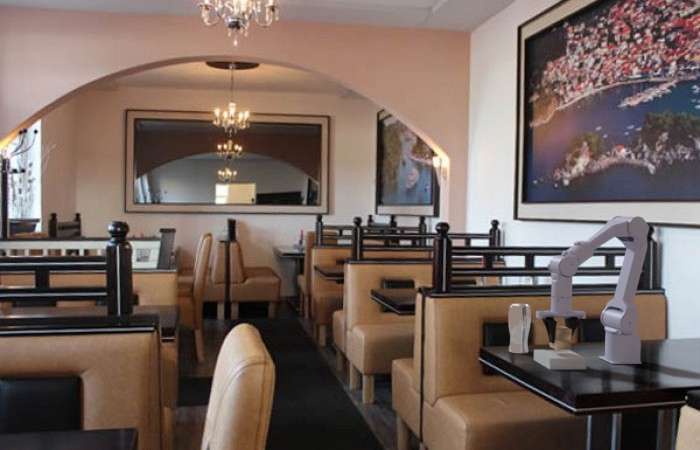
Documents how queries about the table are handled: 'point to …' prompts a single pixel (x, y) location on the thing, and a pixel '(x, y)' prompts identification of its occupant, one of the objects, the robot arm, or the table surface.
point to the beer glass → (519, 327)
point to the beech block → (562, 338)
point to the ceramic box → (560, 359)
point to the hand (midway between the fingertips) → (560, 342)
